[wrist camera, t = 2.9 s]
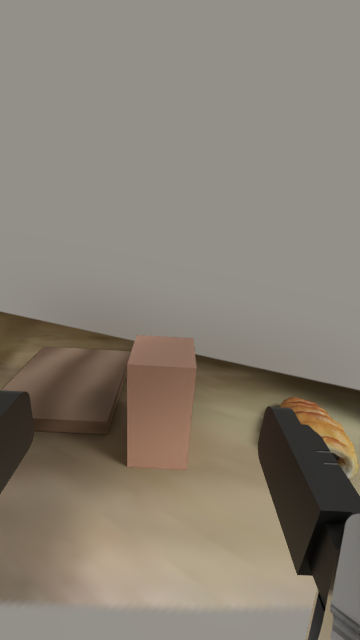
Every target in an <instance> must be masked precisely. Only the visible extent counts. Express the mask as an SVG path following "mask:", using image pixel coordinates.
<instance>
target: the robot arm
mask: <svg viewBox="0 0 360 640" xmlns="http://www.w3.org/2000/svg"><path fill="white" fill-rule="evenodd" d="M33 436H34V424H33V417H32V410H31V402H30V396H29V394H28V392H26V391H9V390H2V391H0V494H1V492H2V490H3V489H4V487H5V486H6V484H7V482H8V481H9V479H10V478H11V476H12V475H13V473H14V471H15V470H16V468H17V467H18V465H19V464H20V462H21V460H22V459H23V457H24V456H25V454H26V453H27V451H28V449H29V448H30V445H31V443H32V440H33ZM258 455H259V460H260V464H261V467H262V470H263V473H264V476H265V479H266V482H267V485H268V488H269V491H270V494H271V497H272V500H273V503H274V506H275V509H276V512H277V515H278V518H279V521H280V524H281V527H282V530H283V533H284V536H285V539H286V542H287V545H288V548H289V551H290V554H291V557H292V561H293V564H294V567H295V570H296V573H297V575H311V576H313V577H314V580H315V583H316V585H317V588H318V590H317V593H316V595H315V600H314V604H313V608H312V612H311V617H310V621H309V625H308V630H307V635H306V639H305V640H360V496H359V494H358V493H357V491H356V490H355V488H354V487H353V485H352V484H351V482H350V480H349V479H348V477H347V476H346V474H345V473H344V471H343V470H342V468H341V466H340V465H338V462H337V460H336V459H335V457H334V456H333V454H332V453H330V449H329V448H328V446H327V445H326V443H325V442H324V440H323V438H322V437H321V436H320V435H319V434H318V433H317V432H316V431H314V430H313V429H312V428H311V427H310V426H309V425H306V424H301V423H300V421H299V419H298V418H297V416H296V414H295V413H294V411H293V410H292V409H291V408H284V407H267V408H266V411H265V415H264V419H263V424H262V428H261V433H260V437H259V442H258Z"/></svg>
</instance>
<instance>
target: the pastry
mask: <svg viewBox="0 0 360 640" xmlns="http://www.w3.org/2000/svg"><path fill="white" fill-rule="evenodd" d="M280 407H284V408H291V409H292V410H293V411H294V413H295V414H296V416H297V418H298V419H299V421H300V423H301V424H306V425H309V426H310V427H311V428H312V429H313V430H314V431H316V432H317V433H318V434H319V435H320V436H321V437H322V438H323V440H324V442H325V443H326V445H327V446H328V448H329V449H330V453H332V454H333V456H334V457H335V459H336V460H337V462H338V465H340V466H341V468H342V470H343V471H344V473H345V474H346V476H347V477H348V479H350V478H352V477H354V475H355V474H356V473H357V471H358V469H359V465H358V462H357V456H356V454H355V453H354V446H353V444H352V443H351V441H350V440H349V438H348V437H347V435H346V434H345V432H344V430H343V427H342V425H341V424H340V423H338V422H336V421H334V420H333V419H332V418H331V417H330V416H329V415H328V413H327V412H326V411H325V410H324V409H322V408H321V407H319V406H318V405H316V404H315V403H314V402H310V401H307V400H303V399H301V398H296V397H291V398H288V399H286V400H284V401H283V402H282V403H281V406H280Z"/></svg>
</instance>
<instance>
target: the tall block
mask: <svg viewBox="0 0 360 640" xmlns="http://www.w3.org/2000/svg"><path fill="white" fill-rule="evenodd" d="M196 369H197V367H196V358H195V349H194V341H193V338H177V337H160V336H143V335H137V336H136V339H135V342H134V345H133V348H132V351H131V354H130V357H129V360H128V363H127V467H138V468H160V469H182V470H186V467H187V457H188V448H189V438H190V428H191V418H192V408H193V399H194V389H195V379H196Z"/></svg>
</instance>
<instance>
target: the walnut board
mask: <svg viewBox="0 0 360 640" xmlns="http://www.w3.org/2000/svg"><path fill="white" fill-rule="evenodd" d="M130 354H131V351H114V350H96V349H79V348H61V347H43V348H42V349H41V350H40V351H39V352H38V353H37V354H36V355H35V356H34V357H33V358H32V359H31V360H30V361H29V362H28V363H27V364H26V366H25V367H24V368H23V369H22V370H21V371H20V372H19V373H18V374H17V375H16V376H15V377H14V378H13V379H12V380H11V381H10V382H9V383H8V384H7V385H6V386H5V387H4V388H3V389H2V390H9V391H26V392H28V394H29V396H30V402H31V410H32V417H33V424H34V431H49V432H70V433H91V434H108V431H109V428H110V424H111V421H112V418H113V415H114V412H115V409H116V405H117V402H118V399H119V396H120V393H121V390H122V386H123V383H124V380H125V377H126V374H127V363H128V360H129V357H130ZM2 390H1V391H2Z"/></svg>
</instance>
